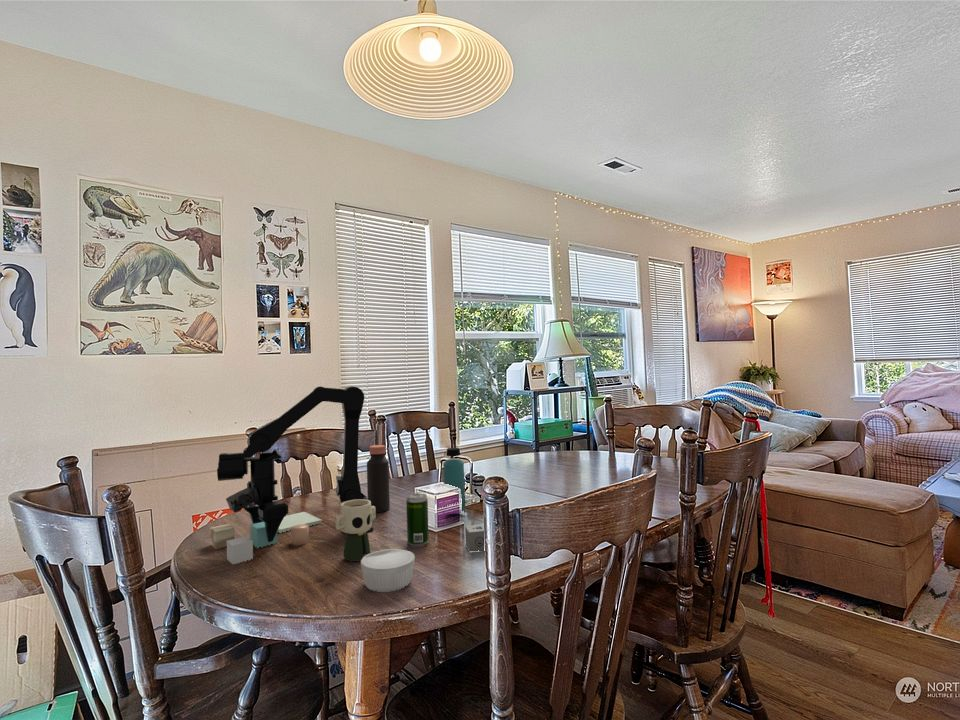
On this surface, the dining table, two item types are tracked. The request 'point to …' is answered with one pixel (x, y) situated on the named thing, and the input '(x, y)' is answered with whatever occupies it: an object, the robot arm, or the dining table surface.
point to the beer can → (417, 519)
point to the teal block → (260, 535)
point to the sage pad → (297, 521)
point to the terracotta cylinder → (299, 534)
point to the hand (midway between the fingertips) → (263, 537)
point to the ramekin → (388, 569)
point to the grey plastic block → (239, 550)
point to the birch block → (221, 535)
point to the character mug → (356, 527)
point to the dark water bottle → (378, 479)
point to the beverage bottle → (455, 472)
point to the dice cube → (475, 537)
